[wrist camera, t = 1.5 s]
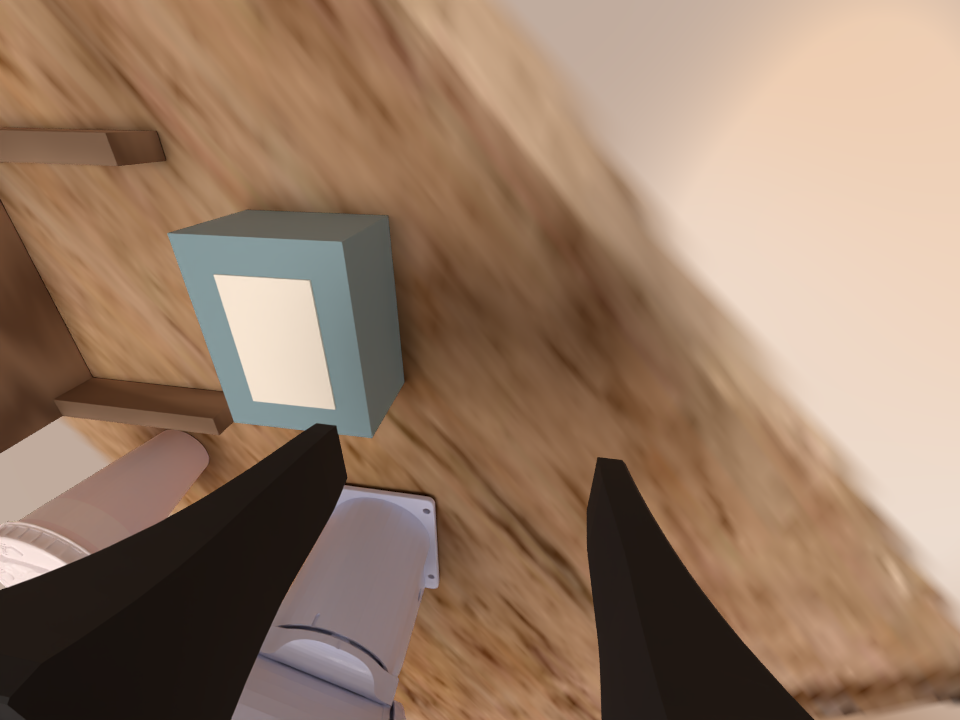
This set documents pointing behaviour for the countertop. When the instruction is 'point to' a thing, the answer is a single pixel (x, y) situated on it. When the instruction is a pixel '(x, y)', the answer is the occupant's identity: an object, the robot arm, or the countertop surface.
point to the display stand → (42, 333)
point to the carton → (297, 315)
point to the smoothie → (103, 507)
